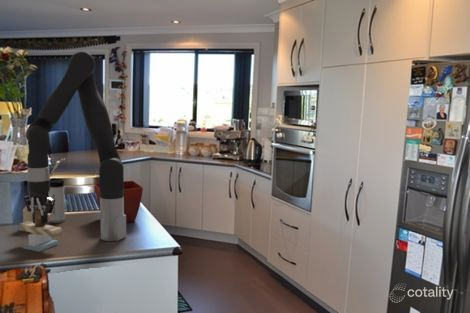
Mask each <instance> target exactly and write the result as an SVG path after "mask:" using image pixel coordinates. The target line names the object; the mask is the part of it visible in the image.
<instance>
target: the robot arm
mask: <svg viewBox="0 0 470 313" xmlns="http://www.w3.org/2000/svg"><path fill="white" fill-rule="evenodd" d="M67 66H68V67H67V69H66V72H65V74H64V76H63V78H62V79H61V81H60V82H59V84H58V85H57V86H56V88H55V89H54V91H53V92H52V93H51V95H50V96H49V97H48V99H47V100H46V101H45V103H44V105H43V106H42V108H41V110H40V111H39V113H38V115H37V116H36V117H35V118H34V120H33V121H32V122H31V123H30V125H29V126H28V127H27V129H26V132H25V139H26V141H28V142H27V143H28V153H27V172H26V177H27V193H29V195H26V196H24V197H23V200H24V203H25V207H27V210H28V212H31V213H32V220H33V223H34V224H35V210H34V209H35V208H39V210H40V211H41V225H48V222H49V219H48V218H49V217H48V216H49V215H50V213H52V211H53V207H54V204H55V199H51V198H50V197H49V191H50V180H51V176H50V166H49V147H50V135H49V134H50V132H51V130H52V128H53V127H54V126H55V125H56V124H57V123H59V121H60V119H61V118H62V116H63V114H64V113H65V111H66V110H67V108H68V106H69V104H70V102H71V101H72V99H73V97H74V95H75V94H76V93H78V98H79V102H80V107H81V110H82V115H83V119H84V122H85V125H86V128H87V130H88V133H89V135H90V137H91V139H92V142H93V143H94V145H95V148H96V151H97V154H98V159H99V171H98V176H99V177H98V178H99V179H98V183H99V185H100V208H99V211H100V215H99V216H100V218H99V219H100V221H99V222H100V239H101V240H102V241H105V242H118V241H120V240H122V239H125V238H126V237H127V222H126V215H124V181H125V180H124V179H125V178H124V174H125V173H124V168H125V167H124V164H123V162H122V160H121V157H120V154H119V152H118V150H117V147H116V144H115V140H114V138H115V137H114V133H113V126H112V123H111V120H110V116H109V112H108V109H107V106H106V103H105V102H104V100H103V98H102V97H101V95H100V92H99V90H98V87H97V85H96V81H95V76H94V71H95V69H96V61H95V59H94V57H93V56H92V55H91V54H90V53H89V52H86V51H79V52H75V53H74V54H72V56H70V58H69V60H68V64H67ZM30 205H31V208H30ZM44 209H45V212H44Z"/></svg>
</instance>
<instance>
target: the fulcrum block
mask: <svg viewBox="0 0 470 313" xmlns="http://www.w3.org/2000/svg"><path fill="white" fill-rule="evenodd" d="M57 245H59V241H58V240H56V239H53V237H49V236H45V235H40V234H36V233H30V234H28V242H26V243H24V244H22V248H23V249H24V250H28V251H34V252H38V253H39V252H43V251H45V250H47V249H49V248H52V247H55V246H57Z"/></svg>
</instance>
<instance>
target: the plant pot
mask: <svg viewBox="0 0 470 313" xmlns="http://www.w3.org/2000/svg"><path fill="white" fill-rule="evenodd" d="M93 185H94V192H95V196H96V201H97V204H98V206H99V209H100V185H99V182H96V183H94V184H93ZM143 190H144V187H143V186H142V185H140V184H138V183H137V182H136V181H135V180H124V215H126V223H131V222H135V221H136V219H137V217H138V216H137V215H138V213H139V209H140V206H141V202H142V196H143Z"/></svg>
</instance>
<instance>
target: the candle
mask: <svg viewBox="0 0 470 313" xmlns="http://www.w3.org/2000/svg"><path fill="white" fill-rule="evenodd" d="M29 206H30V208H31V205H29ZM35 209H36V208H35ZM22 221H23V222H27V221H31V222H33V220H32V213H31V212H28V210H27V207H26V206H24V207H23V209H22ZM23 222H22V223H23Z"/></svg>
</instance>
